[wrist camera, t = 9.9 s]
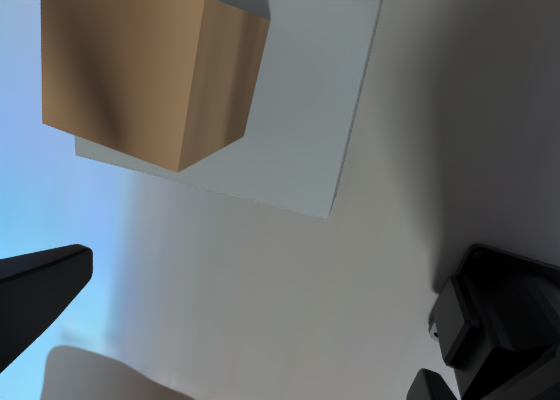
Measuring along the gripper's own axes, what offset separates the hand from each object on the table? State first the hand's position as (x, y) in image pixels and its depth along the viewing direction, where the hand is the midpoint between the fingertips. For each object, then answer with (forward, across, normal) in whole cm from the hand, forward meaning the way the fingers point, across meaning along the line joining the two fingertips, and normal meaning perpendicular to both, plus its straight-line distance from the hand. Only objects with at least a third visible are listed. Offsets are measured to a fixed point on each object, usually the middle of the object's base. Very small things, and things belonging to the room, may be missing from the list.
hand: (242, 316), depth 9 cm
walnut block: (+8, +6, -5) cm, 11 cm away
